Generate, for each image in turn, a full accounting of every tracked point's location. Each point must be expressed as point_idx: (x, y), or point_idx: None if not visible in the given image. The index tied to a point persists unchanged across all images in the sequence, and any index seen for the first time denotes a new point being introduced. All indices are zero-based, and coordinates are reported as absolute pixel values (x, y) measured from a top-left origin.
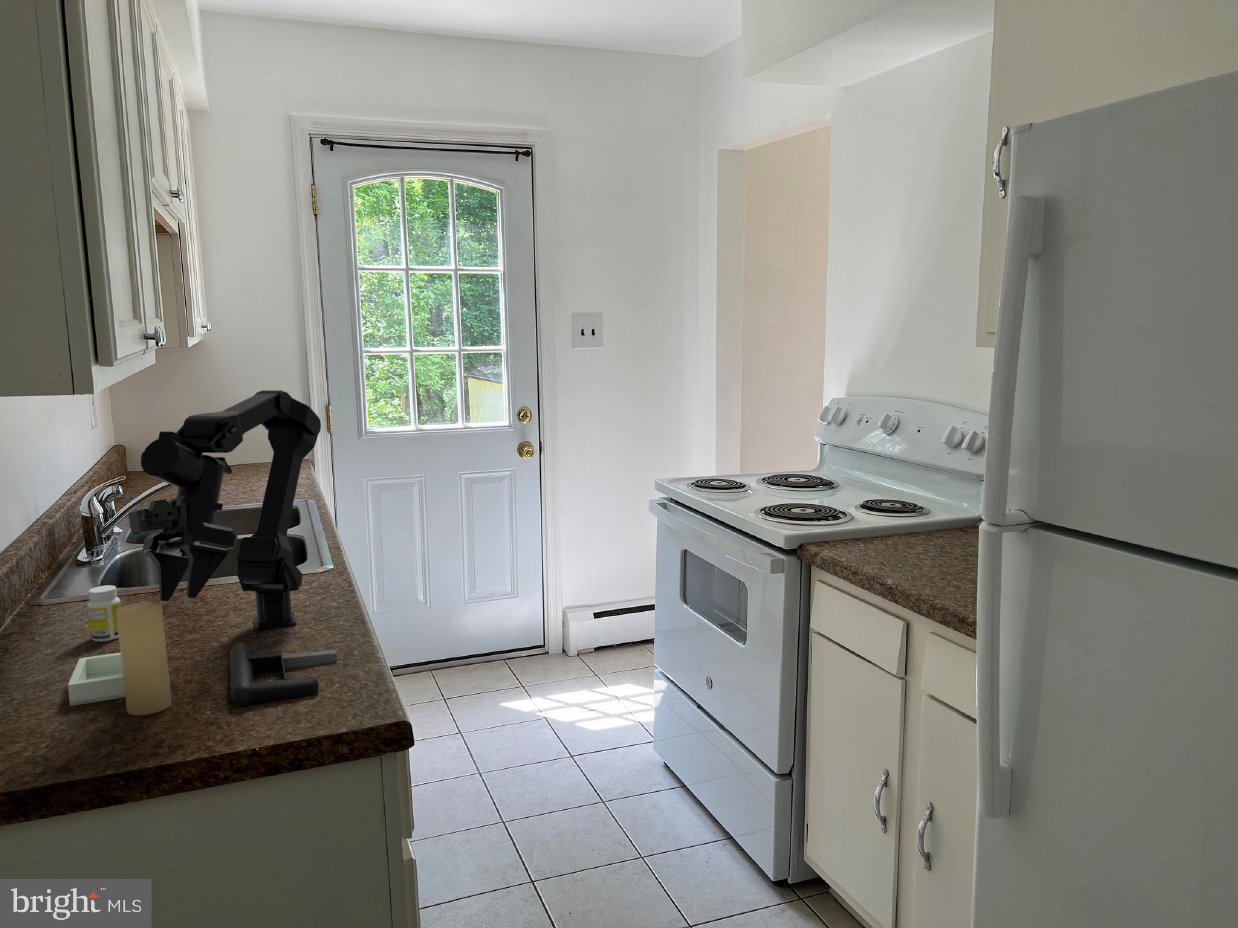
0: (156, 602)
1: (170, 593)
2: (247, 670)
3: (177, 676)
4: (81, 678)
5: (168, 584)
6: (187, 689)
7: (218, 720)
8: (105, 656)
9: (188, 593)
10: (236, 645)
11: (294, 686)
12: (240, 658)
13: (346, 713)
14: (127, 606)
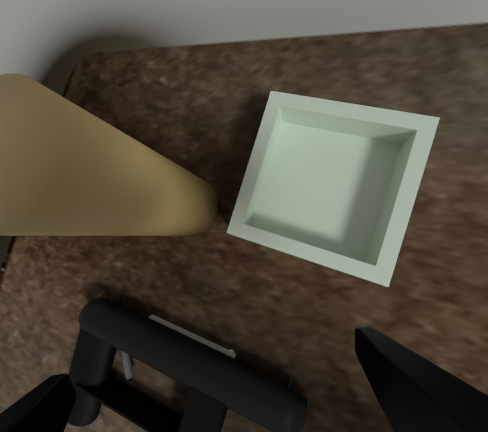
0: (8, 224)
1: (377, 388)
2: (139, 358)
3: (290, 277)
4: (325, 120)
5: (421, 428)
6: (217, 270)
7: (88, 264)
8: (409, 167)
9: (36, 387)
10: (281, 415)
11: None
12: (194, 378)
13: (6, 390)
14: (40, 117)
